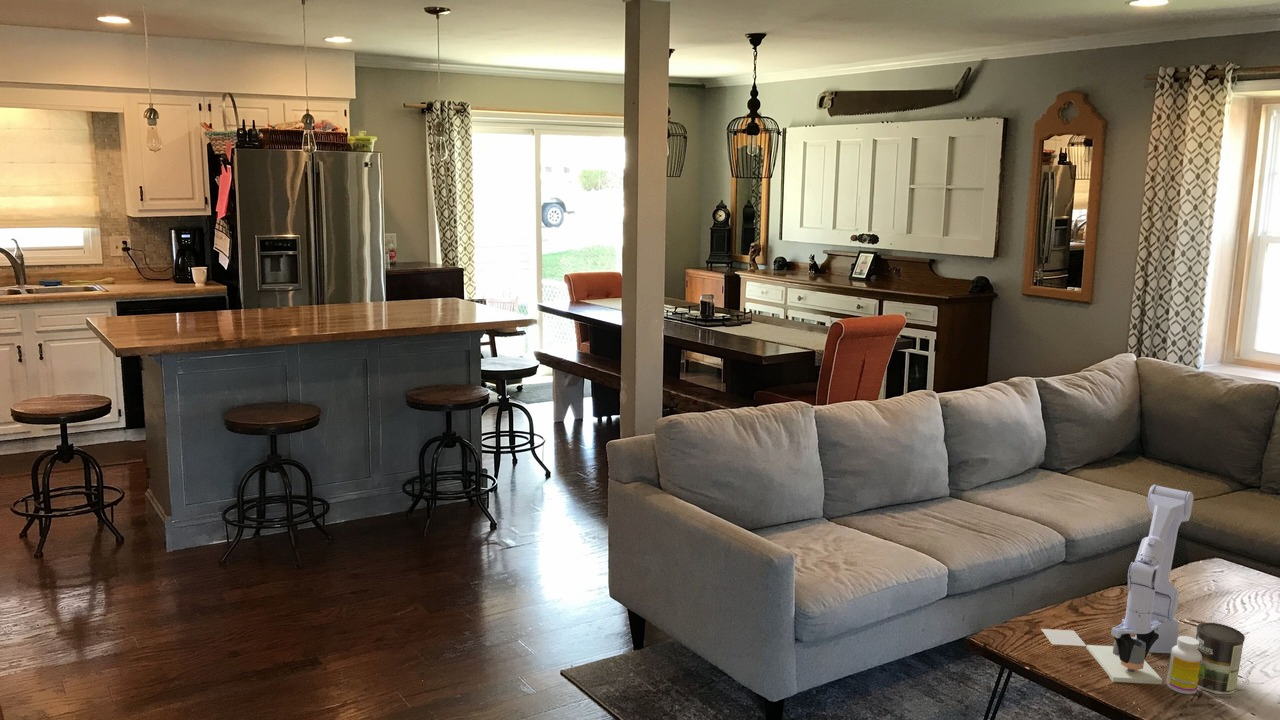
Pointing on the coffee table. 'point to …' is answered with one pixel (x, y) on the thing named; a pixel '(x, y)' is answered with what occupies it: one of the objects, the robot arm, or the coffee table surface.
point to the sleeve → (1136, 656)
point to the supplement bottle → (1184, 666)
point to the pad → (1063, 637)
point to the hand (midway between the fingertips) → (1132, 659)
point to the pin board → (1118, 672)
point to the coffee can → (1219, 657)
